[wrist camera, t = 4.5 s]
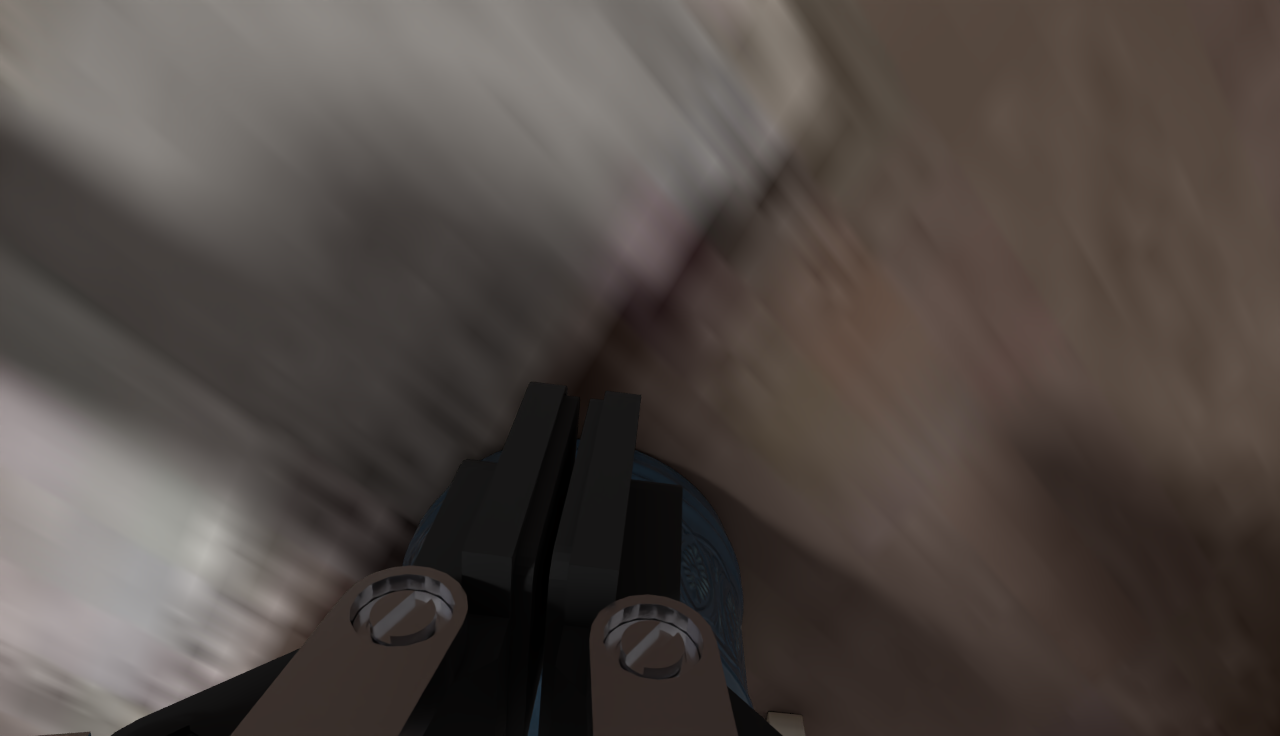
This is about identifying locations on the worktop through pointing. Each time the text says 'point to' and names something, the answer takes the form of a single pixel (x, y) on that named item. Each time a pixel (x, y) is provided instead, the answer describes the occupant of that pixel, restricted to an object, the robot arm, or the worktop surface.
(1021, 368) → the worktop surface
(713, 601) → the canister
